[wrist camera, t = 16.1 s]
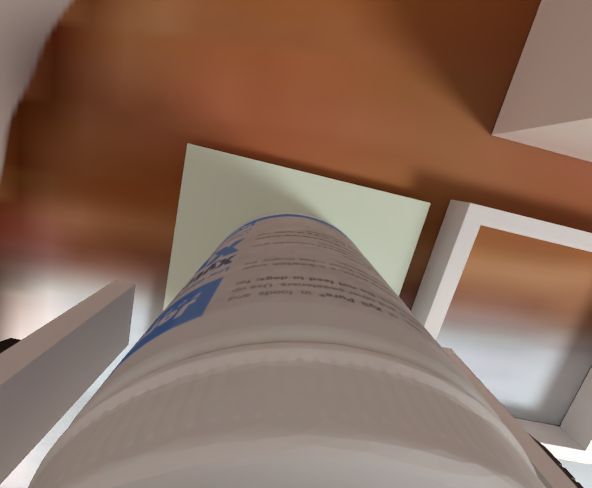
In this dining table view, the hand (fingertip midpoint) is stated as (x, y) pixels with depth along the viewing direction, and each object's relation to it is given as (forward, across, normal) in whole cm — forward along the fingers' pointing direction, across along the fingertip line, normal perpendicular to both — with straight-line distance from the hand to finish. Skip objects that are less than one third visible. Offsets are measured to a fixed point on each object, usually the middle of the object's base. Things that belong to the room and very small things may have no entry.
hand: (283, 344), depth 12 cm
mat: (+7, 0, 0) cm, 7 cm away
